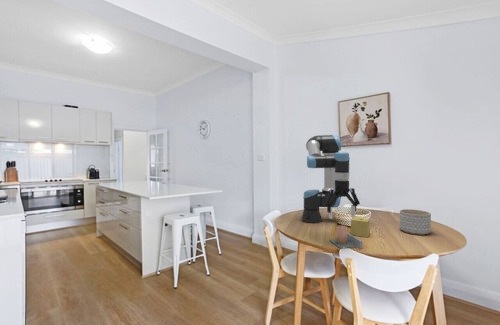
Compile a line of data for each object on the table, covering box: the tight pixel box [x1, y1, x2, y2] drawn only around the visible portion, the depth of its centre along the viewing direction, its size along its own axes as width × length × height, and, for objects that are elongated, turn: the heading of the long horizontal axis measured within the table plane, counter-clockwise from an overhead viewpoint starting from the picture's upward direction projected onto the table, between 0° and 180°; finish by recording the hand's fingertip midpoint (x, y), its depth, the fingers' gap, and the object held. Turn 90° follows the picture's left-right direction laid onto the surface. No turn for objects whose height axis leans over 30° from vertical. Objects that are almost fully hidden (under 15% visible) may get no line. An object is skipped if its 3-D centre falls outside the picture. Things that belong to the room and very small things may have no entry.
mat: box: [329, 238, 357, 249], centre depth 136 cm, size 12×9×1 cm
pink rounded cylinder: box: [335, 225, 349, 245], centre depth 136 cm, size 6×6×9 cm
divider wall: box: [348, 232, 363, 249], centre depth 137 cm, size 16×1×4 cm, turn 9°
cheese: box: [350, 215, 371, 238], centre depth 153 cm, size 10×11×10 cm
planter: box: [399, 208, 432, 236], centre depth 156 cm, size 16×16×13 cm
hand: (341, 217), depth 136 cm, fingers open, 13 cm apart
